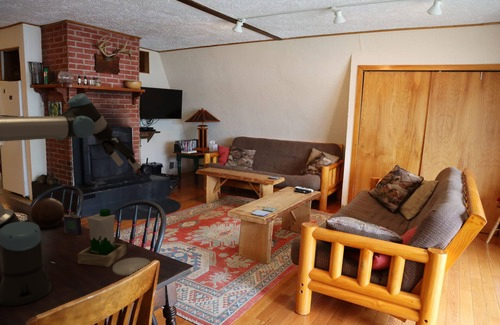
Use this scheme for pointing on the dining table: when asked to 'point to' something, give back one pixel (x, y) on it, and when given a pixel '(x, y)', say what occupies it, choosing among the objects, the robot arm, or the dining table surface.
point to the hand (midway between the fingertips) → (129, 166)
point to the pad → (129, 266)
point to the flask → (72, 224)
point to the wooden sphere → (47, 212)
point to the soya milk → (102, 232)
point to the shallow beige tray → (102, 256)
